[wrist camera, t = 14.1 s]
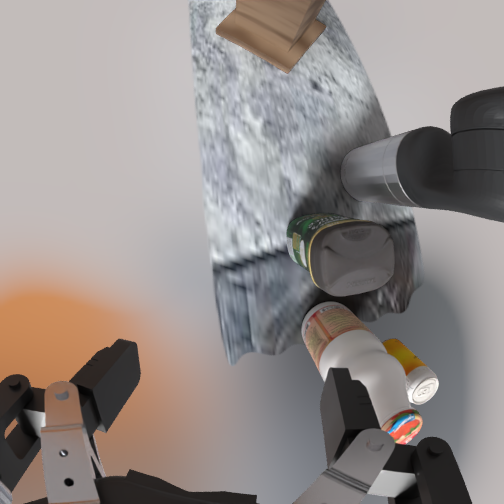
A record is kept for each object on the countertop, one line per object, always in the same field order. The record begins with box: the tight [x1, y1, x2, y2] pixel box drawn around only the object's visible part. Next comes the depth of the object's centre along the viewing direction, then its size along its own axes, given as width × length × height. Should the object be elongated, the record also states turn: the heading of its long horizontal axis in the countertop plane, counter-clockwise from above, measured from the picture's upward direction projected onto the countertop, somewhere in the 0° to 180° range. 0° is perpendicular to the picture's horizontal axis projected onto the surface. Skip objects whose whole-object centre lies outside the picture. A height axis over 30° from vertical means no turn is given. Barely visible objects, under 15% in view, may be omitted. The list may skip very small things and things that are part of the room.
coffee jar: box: [287, 213, 395, 297], centre depth 38 cm, size 10×8×19 cm
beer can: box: [382, 339, 439, 404], centre depth 45 cm, size 6×6×15 cm
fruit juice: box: [301, 302, 422, 444], centre depth 36 cm, size 9×9×28 cm
